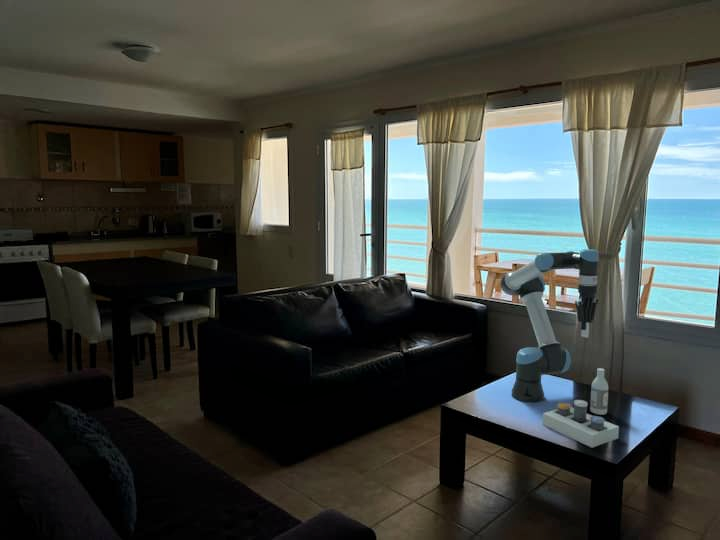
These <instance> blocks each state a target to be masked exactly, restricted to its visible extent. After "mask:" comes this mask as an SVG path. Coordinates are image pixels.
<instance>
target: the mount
mask: <svg viewBox="0 0 720 540" xmlns="http://www.w3.org/2000/svg"><path fill="white" fill-rule="evenodd" d="M591 416H593V415H592V414H590V413H587V414H586V423H578V422H576V421H574V420H573V419H574V407H572V406H571V408H570V415H569V416H566V417H564V416H562V415H559V414H558V408H556V409H554V410H550V411H549V410H548V411H547V412H542V426H545V427H547V428H550V429H551V430H553V431H555V432H558V433H560V434H562V435H563V436H566V437H568V438H571V439H572V440H575V441H577V442H579V443H581V444H583V445H586V446H587V447H589V448H596V447H598V446H601V445H603V444H606V443H609V442H612V441H615V440H617V439H619V431H620V427H619V425H616V424H614V423H611V422H608V421H606V420H605V422H604V430H602V431H596V430H594V429H592V428H590V424H591V421H590V417H591Z"/></svg>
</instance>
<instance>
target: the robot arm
mask: <svg viewBox="0 0 720 540" xmlns="http://www.w3.org/2000/svg"><path fill="white" fill-rule="evenodd" d="M599 256H600V255H599V250H597V249H593V248H592V249H590V248H589V249H588V248H587V249H581V250H580V251H579V252H574V251H564V252H543V253H542V252H541V253H537V255H536V257H534V260H532V261H530V262H529V263H527V264H525V265H524V266H522V267H520V268H518V269H516V270H515V271H508V272H507V273H504V274H503V276H502V277H501V279H500V281H499V286H500V288H501V290H502V291H503V292H504V293H505V294H506V295H509V296H519V297H520V300H521V301H522V302H523V303H525V307H526V309H527V310H526V311H527V313H528V315H529V316H528V317H529V319H530V322H531V325H532V328H533V331H534V333H535V337H536V340H537V343H538V344H537V345H538V347H534V346H533V347H531V346H530V347H524V348H521V349H519V350H518V351H517V353H516V359H515V361H516V363H515V364H516V367H515V368H516V369H515V381H514V384H513V387H512V389H511V397H513V398H514V399H515V400H516V399H517V400H518V401H522V402H527V403H528V402H529V403H535V402H536V403H537V402H542V401H544V399H545V391H544V389H543V385H542V376H543V375H544V376H546V375H555V374H561V373H566V372H567V371H569V369H570V367H571V363H572V359H571V354H570V352H569V350H567V348H563V347H562V344H561V342H559V341H557V340H556V337H555V333H554V329H553V327H552V324H551V322H550V318H549V316H548V313H547V310H546V307H545V304H544V303H545V302H544V301H543V296H544V292H545V291H546V281H545V280H544V278H543V276H542V275H544V274H545V273H548V272H550V271H552V270H568V269H569V270H571V269H572V270H579V271H578V282H577V283H578V287H577V293H579V296H578V297H579V298H578V299H577V300H575V301H574V304H575V307H576V315H577V321H578V322H579V323H581V325H580V329H581V331H580V334H581V335H580V336H581V337H583V338H589V335H590V328H591V327H590V325H591V324H592V323H593V321H594V319H595V314H596V311H597V304H598V302H599V299H597V298H596V294H597V293H598V291H597V290H598V286H597V284H598V275H599V273H598V272H599V261H600V257H599Z"/></svg>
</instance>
